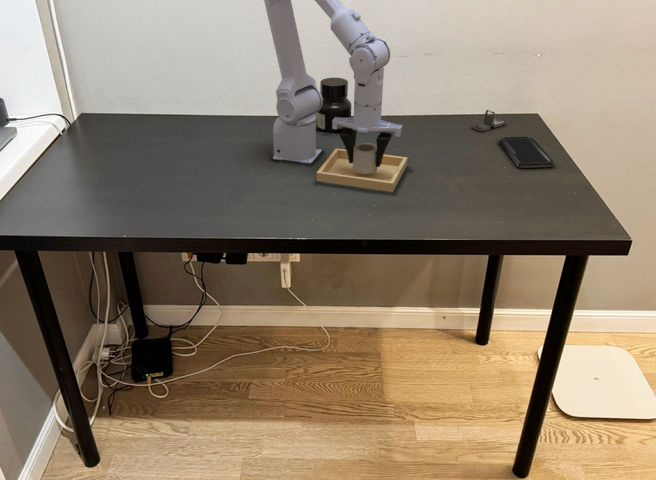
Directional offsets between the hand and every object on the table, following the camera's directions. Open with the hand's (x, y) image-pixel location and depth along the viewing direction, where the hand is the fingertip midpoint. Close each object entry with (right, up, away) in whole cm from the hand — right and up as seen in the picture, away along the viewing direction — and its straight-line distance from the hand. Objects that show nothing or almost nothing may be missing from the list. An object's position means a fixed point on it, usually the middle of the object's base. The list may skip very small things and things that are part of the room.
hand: (365, 163), depth 140 cm
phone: (+38, +4, +10) cm, 39 cm away
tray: (0, -2, +2) cm, 3 cm away
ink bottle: (-5, +13, +25) cm, 29 cm away
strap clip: (+34, +13, +24) cm, 44 cm away
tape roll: (0, -1, +1) cm, 1 cm away
